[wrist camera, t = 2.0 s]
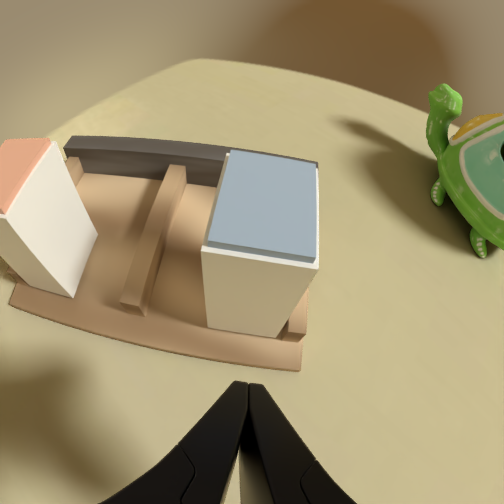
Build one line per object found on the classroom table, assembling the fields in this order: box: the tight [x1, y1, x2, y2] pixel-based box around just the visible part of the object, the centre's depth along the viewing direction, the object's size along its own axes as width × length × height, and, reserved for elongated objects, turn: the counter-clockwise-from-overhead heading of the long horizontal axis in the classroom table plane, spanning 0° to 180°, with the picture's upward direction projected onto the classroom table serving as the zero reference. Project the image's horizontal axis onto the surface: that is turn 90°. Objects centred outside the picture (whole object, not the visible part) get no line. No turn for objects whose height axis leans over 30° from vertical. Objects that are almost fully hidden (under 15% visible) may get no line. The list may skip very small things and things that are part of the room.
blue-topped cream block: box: [201, 150, 319, 338], centre depth 15 cm, size 5×4×9 cm
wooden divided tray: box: [7, 136, 318, 372], centre depth 20 cm, size 14×20×4 cm
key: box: [0, 138, 98, 298], centre depth 15 cm, size 5×4×9 cm
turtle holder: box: [426, 84, 504, 258], centre depth 23 cm, size 12×18×12 cm
